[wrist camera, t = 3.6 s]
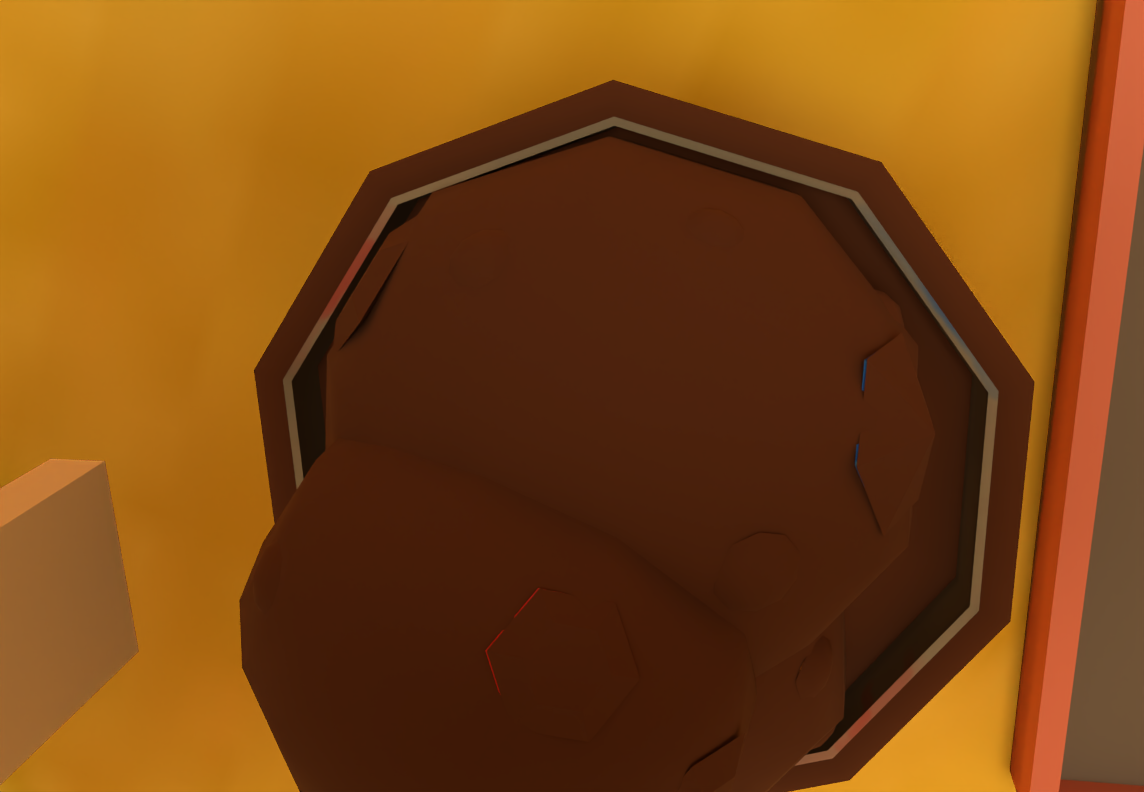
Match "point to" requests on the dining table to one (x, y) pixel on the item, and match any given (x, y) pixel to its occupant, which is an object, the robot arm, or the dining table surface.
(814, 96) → the dining table surface
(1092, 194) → the serving tray
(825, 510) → the ice cream bowl
